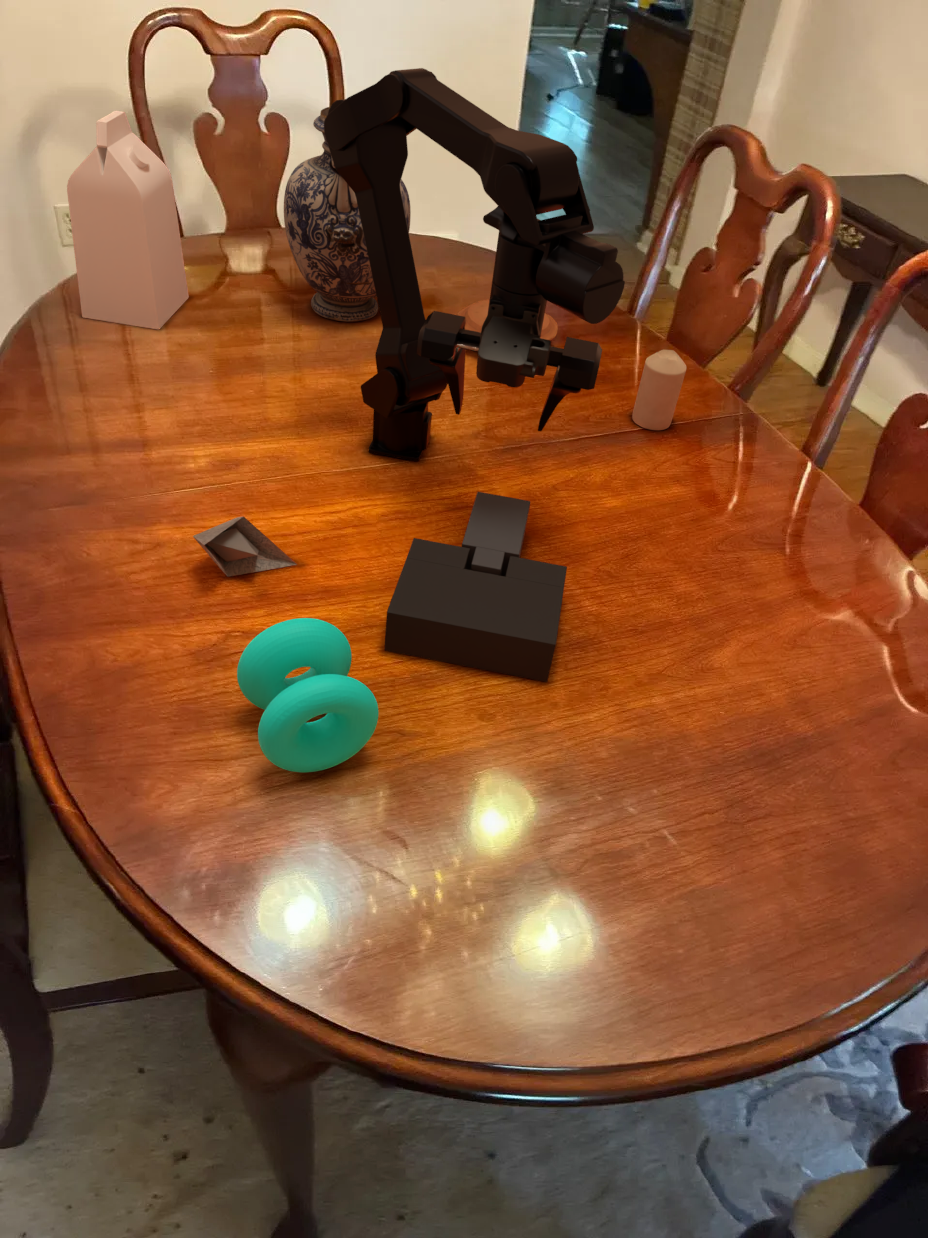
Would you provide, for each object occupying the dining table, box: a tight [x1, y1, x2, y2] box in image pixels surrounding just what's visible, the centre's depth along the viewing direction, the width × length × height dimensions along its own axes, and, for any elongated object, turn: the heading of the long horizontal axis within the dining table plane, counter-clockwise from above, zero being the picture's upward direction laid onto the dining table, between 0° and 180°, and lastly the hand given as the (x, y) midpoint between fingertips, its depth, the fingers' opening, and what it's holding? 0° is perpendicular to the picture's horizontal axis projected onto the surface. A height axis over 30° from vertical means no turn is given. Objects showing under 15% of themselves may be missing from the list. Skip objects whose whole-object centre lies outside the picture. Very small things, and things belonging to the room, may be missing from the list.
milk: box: [66, 110, 190, 330], centre depth 130 cm, size 12×12×26 cm
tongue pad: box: [461, 491, 531, 577], centre depth 99 cm, size 6×13×5 cm, turn 170°
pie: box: [456, 298, 559, 342], centre depth 141 cm, size 16×16×5 cm
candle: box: [631, 349, 687, 431], centre depth 126 cm, size 6×6×10 cm
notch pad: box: [384, 537, 568, 683], centre depth 92 cm, size 16×12×5 cm
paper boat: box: [192, 516, 298, 578], centre depth 94 cm, size 12×6×9 cm
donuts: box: [236, 617, 380, 773], centre depth 77 cm, size 10×10×10 cm
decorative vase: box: [283, 106, 412, 323], centre depth 137 cm, size 21×19×28 cm
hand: (499, 421), depth 102 cm, fingers open, 9 cm apart
